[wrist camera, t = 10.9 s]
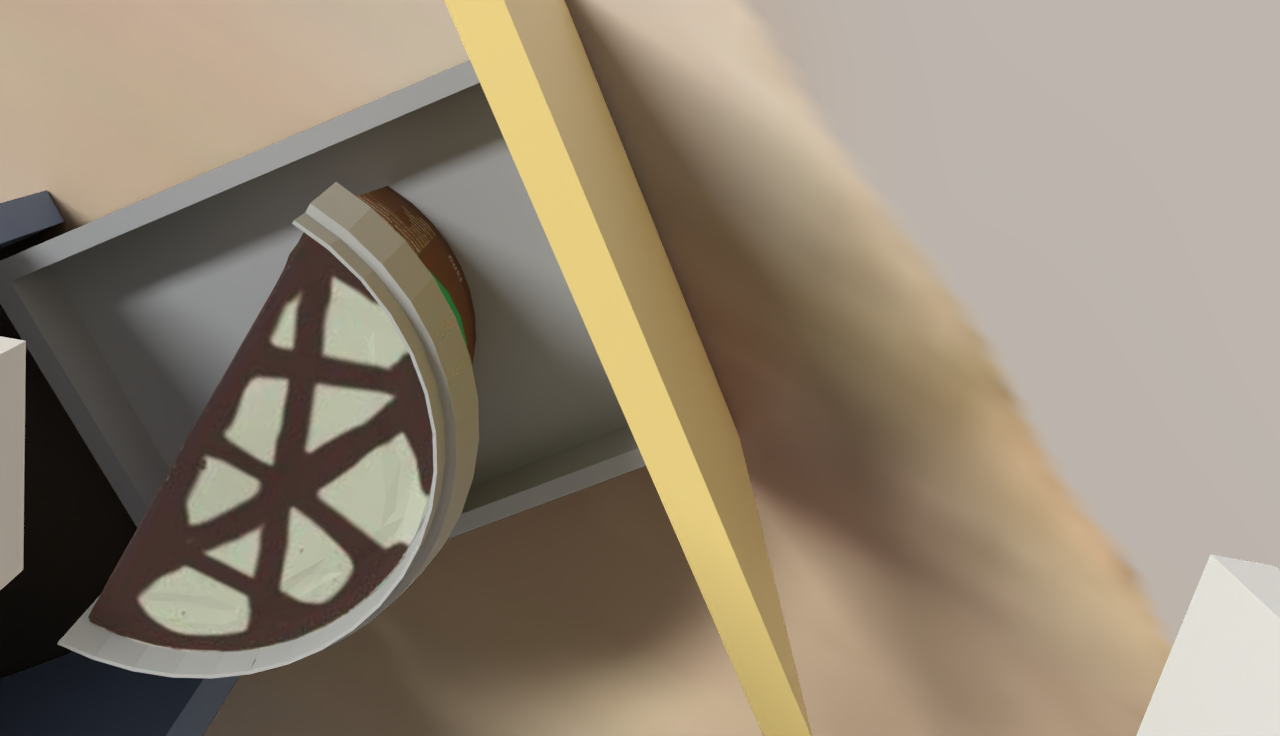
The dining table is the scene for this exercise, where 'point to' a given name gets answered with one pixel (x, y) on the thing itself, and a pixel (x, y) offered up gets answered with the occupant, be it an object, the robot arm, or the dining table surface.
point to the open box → (74, 684)
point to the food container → (308, 458)
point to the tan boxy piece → (501, 295)
